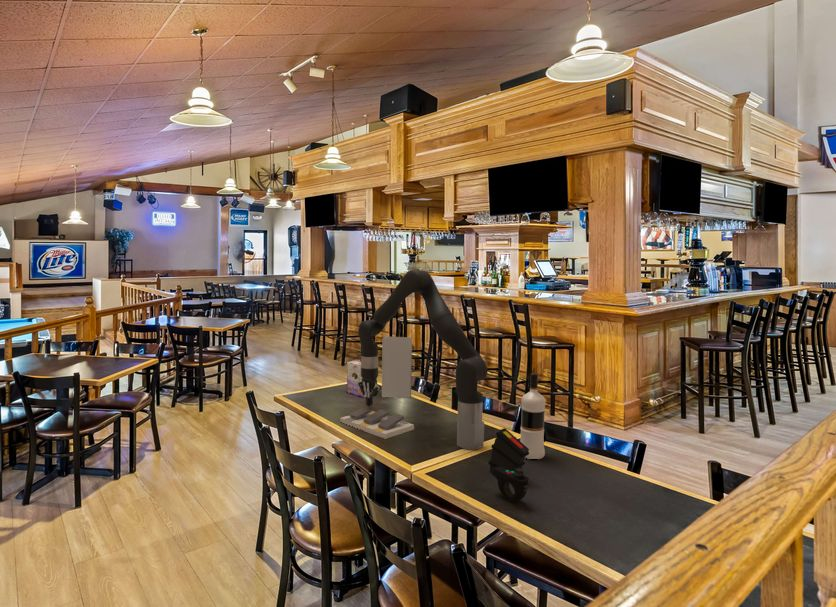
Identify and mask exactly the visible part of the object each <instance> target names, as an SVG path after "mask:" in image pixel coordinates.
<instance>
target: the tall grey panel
mask: <svg viewBox="0 0 836 607" xmlns="http://www.w3.org/2000/svg"><path fill="white" fill-rule="evenodd" d="M381 340H382V343H381V344H382V348H381V365H382V366H381V398H385V397H398V398H397V399H409V398H411V397H412V362H413V361H412V357H413V354H412V353H413V352H412V348H413V337H408V336H407V337H404V336H383V338H382V339H381Z"/></svg>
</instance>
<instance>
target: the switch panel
mask: <svg viewBox="0 0 836 607" xmlns="http://www.w3.org/2000/svg"><path fill="white" fill-rule="evenodd" d="M375 412H376V411H375V410H374V411H372V412H370V413H368V414H366V415H365V416H363V417H361V418H359V419H355V418H352V417H350V415H346V416H342V417H340V418H339V420H340V423H341V422H342V423H341V424H343V423H345V424H344V425H346V424H347V425H346V426H349V425H350V426H349V427H352V426H353V427H352V428H354V427H355V428H354V429H357V428H358V430H360V429H361V430H360V431H362V430H363V432H366V433H368V434H371V435H374V436H376V437H379V438H381V439H385V440H386V439H390V438H393V437H397V436H399V435H401V434H405V433H408V432H410V431H414V430H415V424H413V423H410V422H408V421H405V420H401V421H400V422H398V423H397V424H396V425H394V426H393V427H391V428H390V429H388V430H384V429H382V428H379V427H378V424H380V423H381V422H383V421H384V420H386V419H387V418H389V417H390V416H391V415H390V416H389V415H387V416H385V417H384V418H382V419H380V420H378V421H377V422H375V423H373V424H369V423H366V422H364V421H363V419H364V418H366V417H368V416H369V415H371V414H373V413H375Z"/></svg>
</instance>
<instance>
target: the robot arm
mask: <svg viewBox="0 0 836 607" xmlns="http://www.w3.org/2000/svg"><path fill="white" fill-rule="evenodd" d="M414 293H415V294H417V293H418V294H420V296H421V297H422V299H423V300H424V302H425V304H426V306H427V310H428V318H429V322H430V325H431V327H432V328H433V329H434V331H435V333H436V335H437V337H438V338H439V339H441V341H443V343H445V345H447V346H448V347H450V348H451V349H452V350H454V351H455V352H456V354H457V355H458V356H459V358H460V359H461V360H460V361H459V362H458V363H457V364H456V368H455V391H456V394H457V425H456V426H457V428H456V429H457V430H456V432H457V433H456V446H457V447H458V448H461V449H465V450H473V451H476V450H478V449H480V448H482V446H483V447H484V446H485V421H484V420H483V402H484V401H483V400H484V396H483V393H482V392H481V391H478V384H477V383H478V382H481V381H483V380H485V379H486V378H487V375H488V369H489V368H488V367H487V363H486V362H485V360H484V358H482V356H481V355H480V353H479V352H478V351H477V349H476V348H475V347H474V346H473V345H472V343H471V342H470V340H469V338H468V336H467V335H466V333H465V332H464V331H463V329H462V327H461V326H460V324H459V323H458V321H457V318H456V317H455V315H454V314H453V312H452V311H451V310H450V308H449V307H448V304H447V303H446V301H445V300H444V298H443V297H442V295H441V293H440V292H439V289H438V287H437V285H436V283H435V281H434V279H433V277H432V275H431V274H430V273H429V272H428V271H425V270H423V269H410V270H408V271H407V272H406V273H405V274H404V275H403V277H401V280H400V281H399V282H398V284H397V285H396V287H395V288H394V289H393V291H392V292H391V294H390V295H389V296H388V297H387V299H386V300H385V301H384V302H383V303H382V304H381V305H380V306H379V307H378V308H377V309H375V311H374V313H373V318H372V319H369V320H363V321H361V322H360V323H359V325H358V328H357V329H358V330H357V333H358V338H359V342H360V346H361V354H360V355H361V357H360V362H361V377H362V381H361V382H359V383H358V385H359V387H360V390H361V392H362V394H363V395H365V397H364V398H365V406H366V405H367V406H373V404H374V403H373V401H374V400H373V399H374V397H377V395H378V394H379V392H380V391H381V390H382V385H378V377H379V345H378V343H377V342H376V341H373V337H374V336H378V335H379V334H381V332H382V331H383V330H384V328H385V327H386V326H387V323H389V322H390V321H391V320H392V319H393V318H394V316H396V315H397V313H398V312H399V311H400V309H401V305H402V303H403V302H404V301H405V299H406V298H407V297H409V296H411V294H414Z"/></svg>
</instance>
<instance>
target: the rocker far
mask: <svg viewBox="0 0 836 607" xmlns="http://www.w3.org/2000/svg"><path fill="white" fill-rule="evenodd" d="M375 410H376V409H375V407H374V406H373V405H371V406H367V405H366V404H365V405H364V406H362V407H359V408H358V409H356V410H354V411H352V412H351V413H349V415H350V417H352V418H355V419H359V418H361V417H363V416H365V415H366V414H368V413H370V412H372V411H374V412H375ZM349 415H348V416H349Z"/></svg>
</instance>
